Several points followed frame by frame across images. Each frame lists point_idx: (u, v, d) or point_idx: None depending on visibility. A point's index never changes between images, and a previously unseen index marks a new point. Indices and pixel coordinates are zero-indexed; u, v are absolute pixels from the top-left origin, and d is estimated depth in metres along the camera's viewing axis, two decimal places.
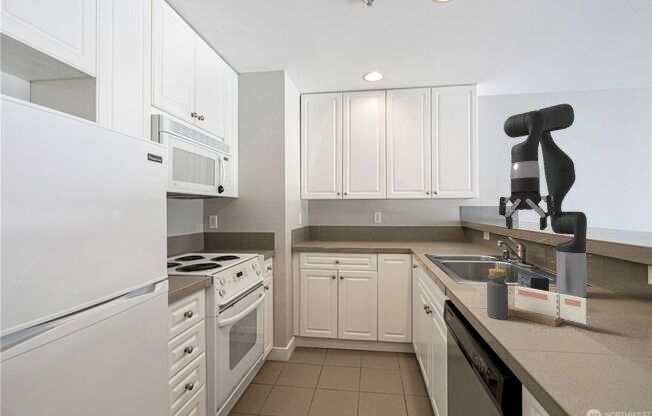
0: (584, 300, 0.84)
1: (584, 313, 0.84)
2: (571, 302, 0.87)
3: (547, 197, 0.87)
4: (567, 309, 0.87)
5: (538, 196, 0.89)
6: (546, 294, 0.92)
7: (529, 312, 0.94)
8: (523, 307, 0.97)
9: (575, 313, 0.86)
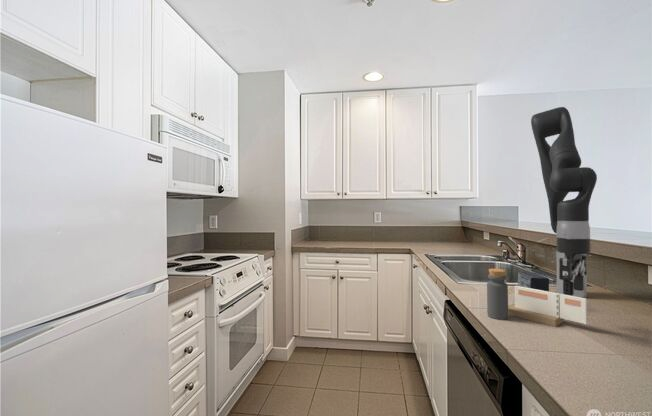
0: (584, 300, 0.84)
1: (584, 313, 0.84)
2: (571, 302, 0.87)
3: (585, 257, 0.89)
4: (567, 309, 0.87)
5: (581, 256, 0.88)
6: (546, 294, 0.92)
7: (529, 312, 0.94)
8: (523, 307, 0.97)
9: (575, 313, 0.86)
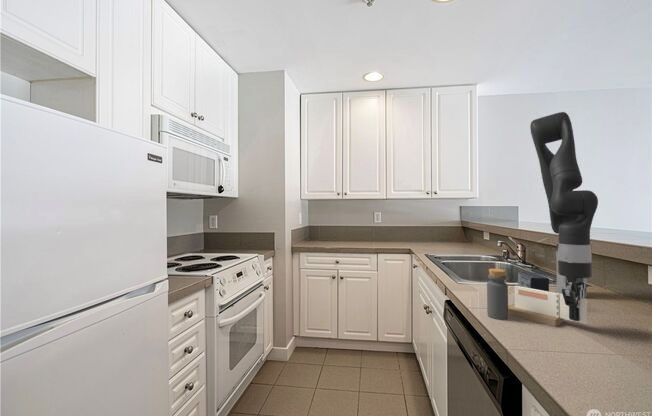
0: (584, 300, 0.84)
1: (584, 313, 0.84)
2: None
3: (585, 286, 0.88)
4: (567, 309, 0.87)
5: None
6: (546, 294, 0.92)
7: (529, 312, 0.94)
8: (523, 307, 0.97)
9: None
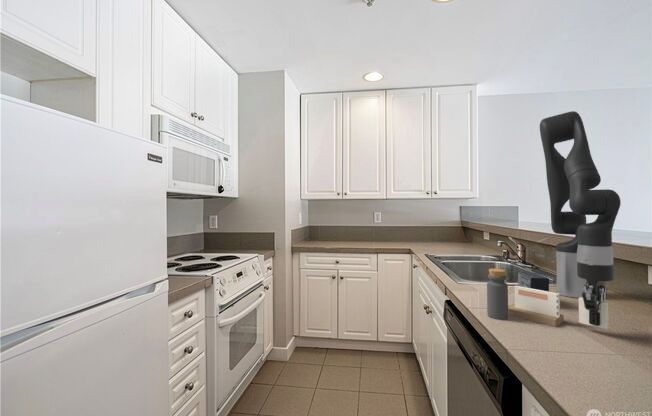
0: (605, 304, 0.81)
1: (605, 318, 0.81)
2: None
3: (606, 289, 0.85)
4: (587, 313, 0.84)
5: None
6: (546, 294, 0.92)
7: (529, 312, 0.94)
8: (523, 307, 0.97)
9: None
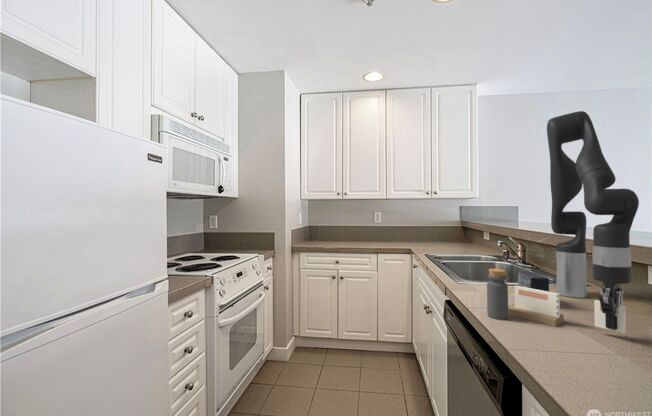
0: (623, 307, 0.78)
1: (623, 321, 0.78)
2: None
3: None
4: (603, 316, 0.81)
5: None
6: (546, 294, 0.92)
7: (529, 312, 0.94)
8: (523, 307, 0.97)
9: None
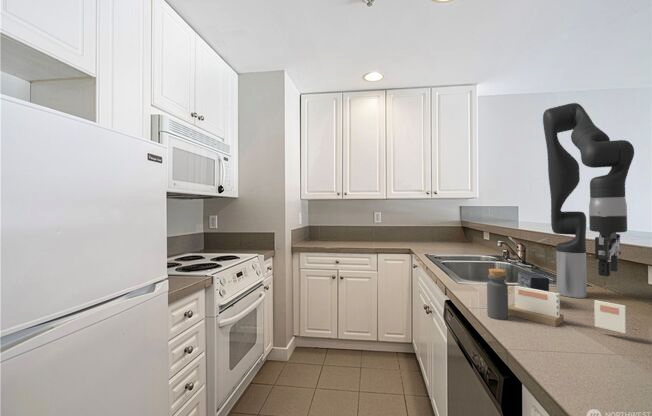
0: (623, 307, 0.78)
1: (623, 321, 0.78)
2: (607, 309, 0.80)
3: (619, 236, 0.84)
4: (603, 316, 0.81)
5: None
6: (546, 294, 0.92)
7: (529, 312, 0.94)
8: (523, 307, 0.97)
9: (613, 321, 0.79)
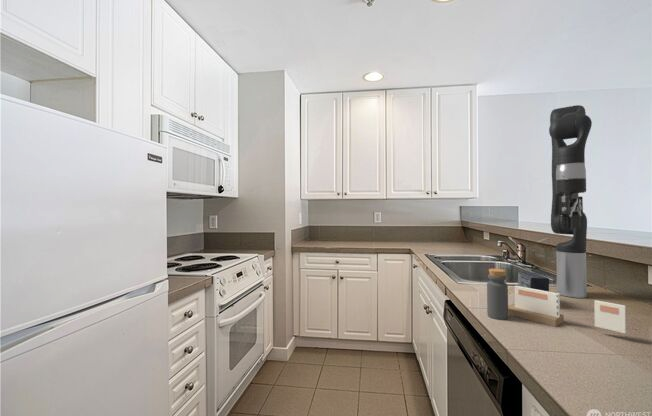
0: (623, 307, 0.78)
1: (623, 321, 0.78)
2: (607, 309, 0.80)
3: (581, 198, 0.99)
4: (603, 316, 0.81)
5: None
6: (546, 294, 0.92)
7: (529, 312, 0.94)
8: (523, 307, 0.97)
9: (613, 321, 0.79)
